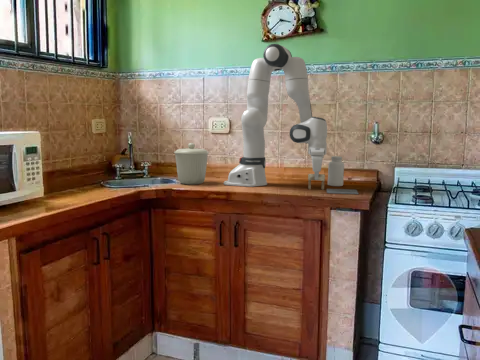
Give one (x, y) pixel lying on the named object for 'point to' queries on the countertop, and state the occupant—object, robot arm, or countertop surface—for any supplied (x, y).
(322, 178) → the stool
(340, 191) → the mat
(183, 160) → the canister
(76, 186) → the countertop surface
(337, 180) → the pill bottle
